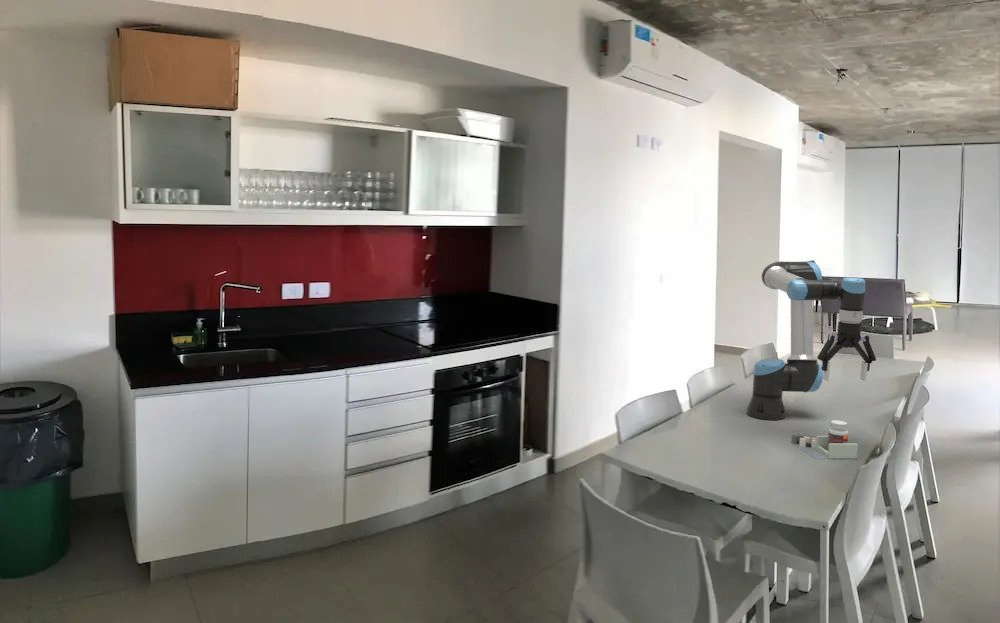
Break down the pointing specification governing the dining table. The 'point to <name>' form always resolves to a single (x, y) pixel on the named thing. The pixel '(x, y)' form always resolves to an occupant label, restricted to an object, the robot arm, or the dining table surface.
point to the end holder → (836, 448)
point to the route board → (808, 446)
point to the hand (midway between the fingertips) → (844, 379)
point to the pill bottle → (838, 432)
